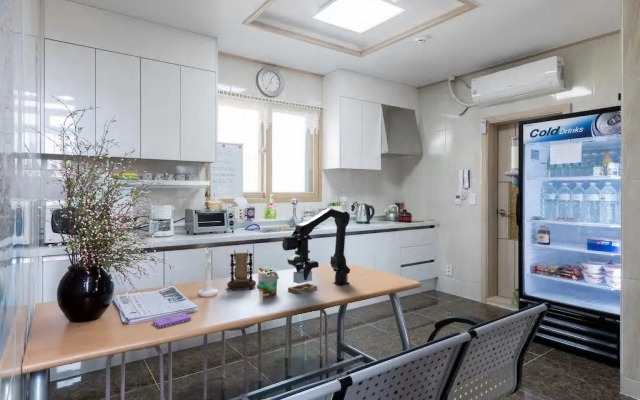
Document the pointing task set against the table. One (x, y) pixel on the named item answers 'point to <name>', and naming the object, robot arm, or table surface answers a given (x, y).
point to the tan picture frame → (302, 288)
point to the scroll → (241, 271)
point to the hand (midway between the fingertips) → (302, 278)
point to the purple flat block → (172, 320)
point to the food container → (270, 284)
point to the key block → (301, 276)
